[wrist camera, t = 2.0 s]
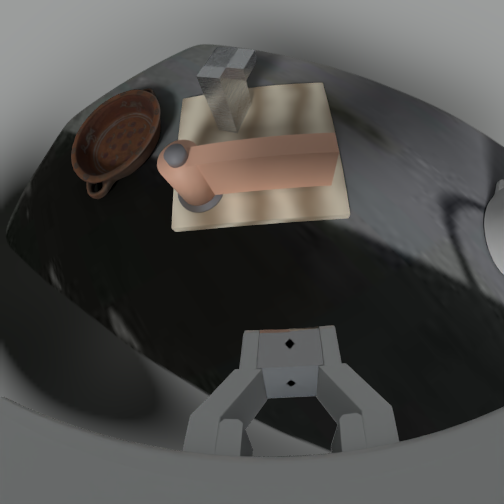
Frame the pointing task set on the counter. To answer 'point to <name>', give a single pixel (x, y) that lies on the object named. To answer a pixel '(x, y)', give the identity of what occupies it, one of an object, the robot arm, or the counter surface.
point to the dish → (116, 139)
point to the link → (248, 165)
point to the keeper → (228, 85)
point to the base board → (255, 126)
